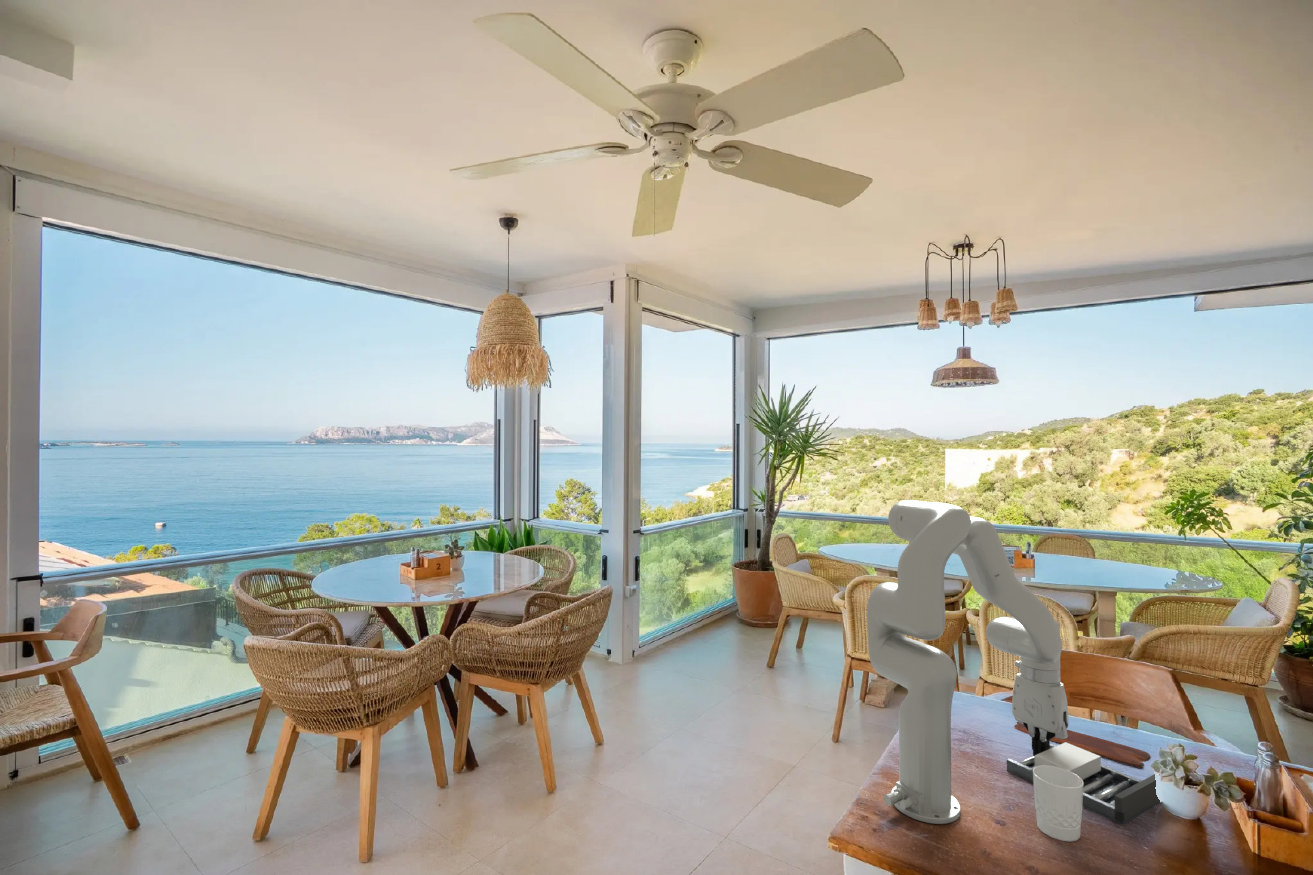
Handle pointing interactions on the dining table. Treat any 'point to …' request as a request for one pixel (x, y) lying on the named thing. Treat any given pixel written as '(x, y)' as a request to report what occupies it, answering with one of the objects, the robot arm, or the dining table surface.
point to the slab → (1070, 759)
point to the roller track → (1105, 791)
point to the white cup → (1058, 802)
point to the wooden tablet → (1101, 747)
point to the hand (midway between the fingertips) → (1040, 755)
